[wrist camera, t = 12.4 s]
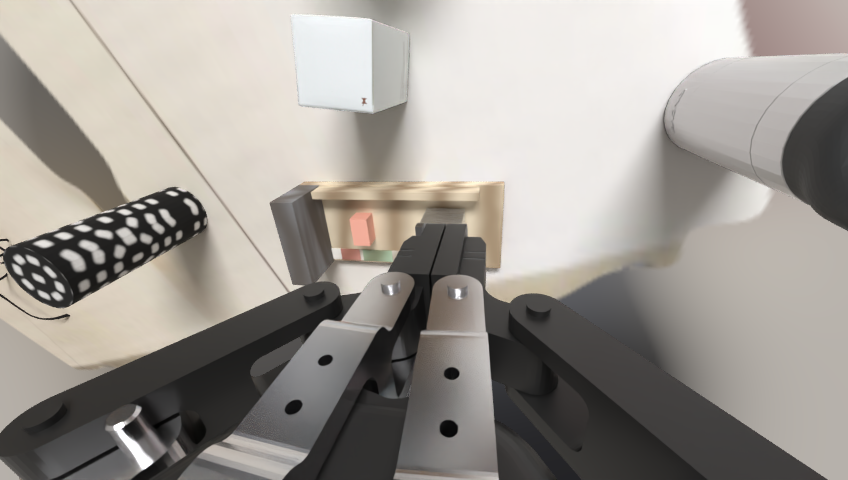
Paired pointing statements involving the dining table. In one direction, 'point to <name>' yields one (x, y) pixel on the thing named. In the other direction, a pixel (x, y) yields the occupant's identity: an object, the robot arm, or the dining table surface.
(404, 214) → the beige long open tray
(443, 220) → the carriage
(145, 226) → the white-spotted black cylinder
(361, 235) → the pink eraser
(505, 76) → the dining table surface
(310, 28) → the supplement box
